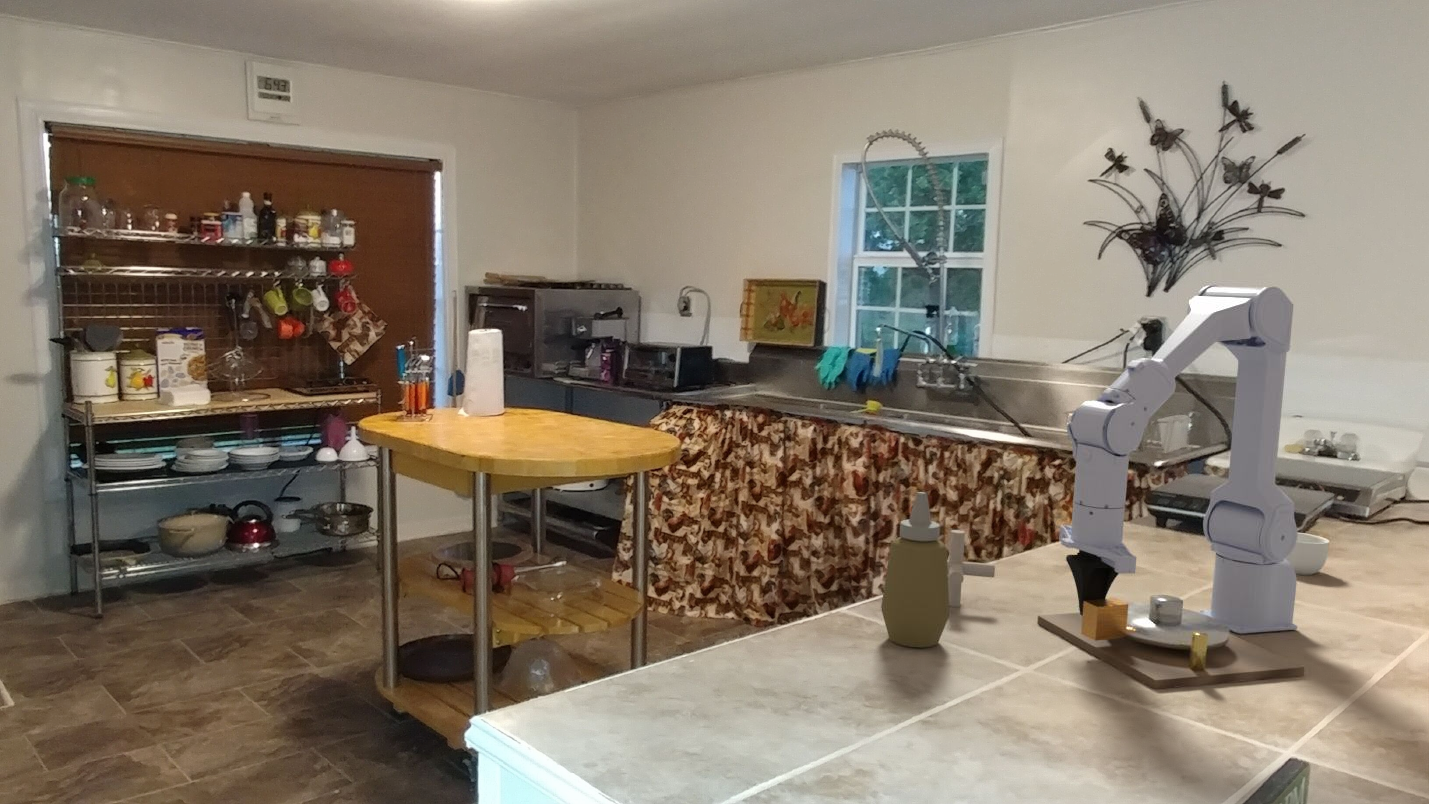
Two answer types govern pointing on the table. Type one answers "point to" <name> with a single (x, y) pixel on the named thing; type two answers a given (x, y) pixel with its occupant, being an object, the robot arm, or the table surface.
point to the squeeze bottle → (917, 581)
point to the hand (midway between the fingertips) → (1090, 615)
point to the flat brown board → (1176, 658)
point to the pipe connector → (962, 567)
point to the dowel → (1198, 651)
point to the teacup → (1308, 554)
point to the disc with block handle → (1151, 622)
